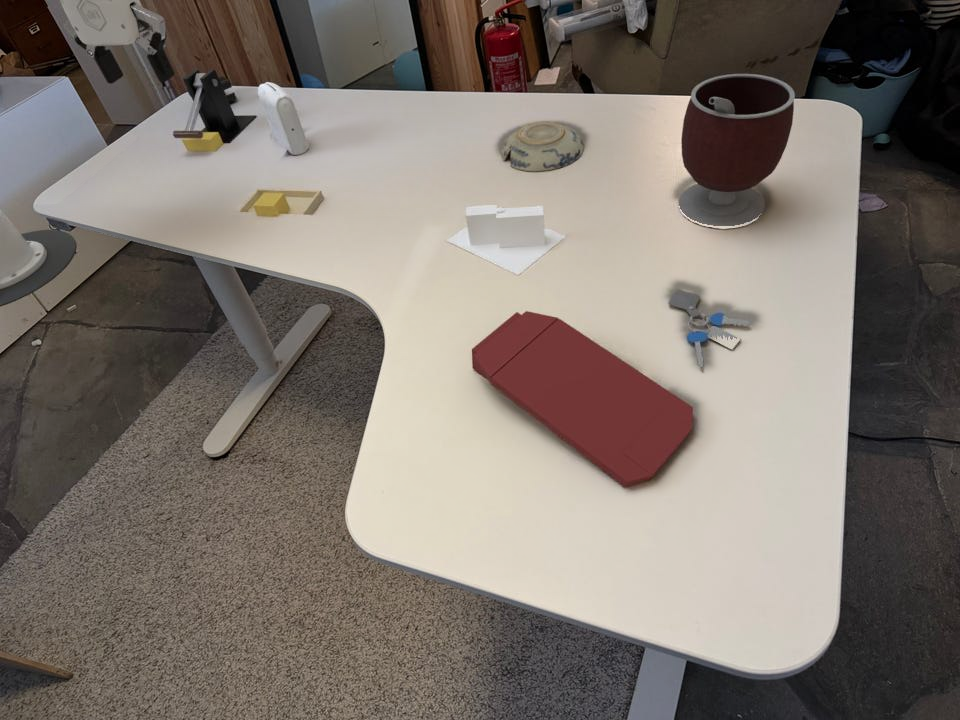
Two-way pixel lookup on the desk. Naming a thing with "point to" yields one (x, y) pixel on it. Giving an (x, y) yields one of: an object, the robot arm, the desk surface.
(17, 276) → the robot arm
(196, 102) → the grey and brown t-shape
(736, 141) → the mate gourd
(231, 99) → the end cap
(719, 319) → the key chain
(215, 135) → the butter
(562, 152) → the decorative bowl
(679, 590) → the desk surface
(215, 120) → the black stand
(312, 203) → the beige square tray
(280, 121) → the photo printer
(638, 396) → the dark red case
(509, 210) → the napkin holder
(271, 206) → the butter pat
